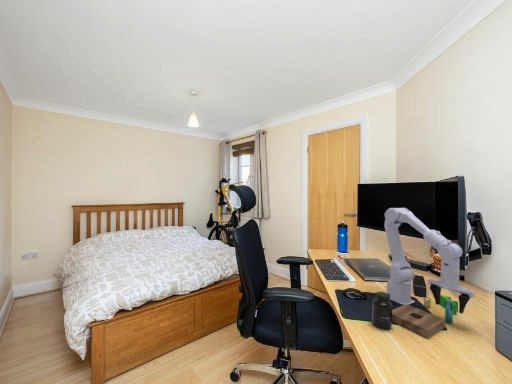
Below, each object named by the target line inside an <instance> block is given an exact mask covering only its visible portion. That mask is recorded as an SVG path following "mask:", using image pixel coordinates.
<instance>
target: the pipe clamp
mask: <svg viewBox="0 0 512 384" xmlns="http://www.w3.org/2000/svg"><path fill="white" fill-rule="evenodd" d="M445 301H451V302H453V316H457V313H458V312H459V301H457V300H453V299H452V297H451V296H445V295H442V294H441V293H440V304H439V305H440V306H441V307H442V308H444V309H445Z"/></svg>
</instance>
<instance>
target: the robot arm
mask: <svg viewBox="0 0 512 384" xmlns="http://www.w3.org/2000/svg"><path fill="white" fill-rule="evenodd" d="M384 218H385V219H384V230H385V236H386V238H387V243H388V248H389V251H390V256H391V259H392V262H391V264H389V265H390V266H389V269H390V271H389V277H390V278H389V279H388V280H387V282H386V293H387V294H389V295H390V301H393V302H395V303H397V304H400V305H401V306H403V305H405V304H408V305H412V304H414V303H415V302H416V301H415V300H413V299H412V281H413V280H414V279H415V271H414V270H413V268H412V267H411V263H409V262H408V261H407V260H406V257H405V252H404V248H403V244H402V241H401V237H400V236H401V235H400V231H399V227H400V226H401V225H402V224H403V223H407V224H409V225H410V226H411V227H412V228H414V229H415V230H416V231H418V232H419V233H420V234H422V235H423V239H424V240H425V241H426V242H427V243H428V244H429V245H430V246H432V247H433V248H434V249H435V250H436V251H437V253H438V256H439V257H440V280H437V279H432V278H428V279H427V285H429V290H430V291H431V293H432V295H433V298H434V302H435V305H436V306H438V305H440V294H441V291H442V289H444V290H447V291H451V292H454V293H458V312H459V314H463V313H464V312H465V309H466V306H467V304H468V302H469V301H470V299H471V298H475V291H474V290H470V289H468V288H466V287H463V286H460V266H461V265H460V258H461V257H462V256H463V253H464V252H463V249H462V247H461V246H460V245H459V244H458V243H454V242H452V240H450V239H447V238H446V237H445V236H444V235H442V234H441V231H439V230H436V229H430V228H429V227H427V226H426V224H424V223H423V222H422V221H421V220H420V219H419V218H418V217H416V216H415V215H414V213H413V212H412V211H411V210H409V209H408V208H406V207H390V208H388V209H386V211H385V212H384Z"/></svg>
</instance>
